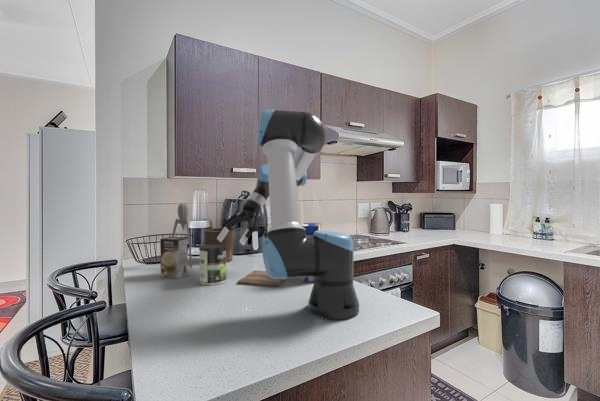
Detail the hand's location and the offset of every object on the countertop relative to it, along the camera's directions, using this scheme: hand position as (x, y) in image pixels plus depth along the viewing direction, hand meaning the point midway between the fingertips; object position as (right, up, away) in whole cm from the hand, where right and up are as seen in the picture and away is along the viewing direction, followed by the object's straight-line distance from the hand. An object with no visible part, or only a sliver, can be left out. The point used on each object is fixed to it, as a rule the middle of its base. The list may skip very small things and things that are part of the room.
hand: (229, 241), depth 125 cm
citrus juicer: (-25, -14, +16) cm, 33 cm away
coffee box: (-23, -15, 0) cm, 28 cm away
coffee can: (-5, -15, -7) cm, 17 cm away
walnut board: (+15, -14, -5) cm, 22 cm away
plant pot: (-11, -14, +28) cm, 33 cm away
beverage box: (+34, -14, -4) cm, 37 cm away
